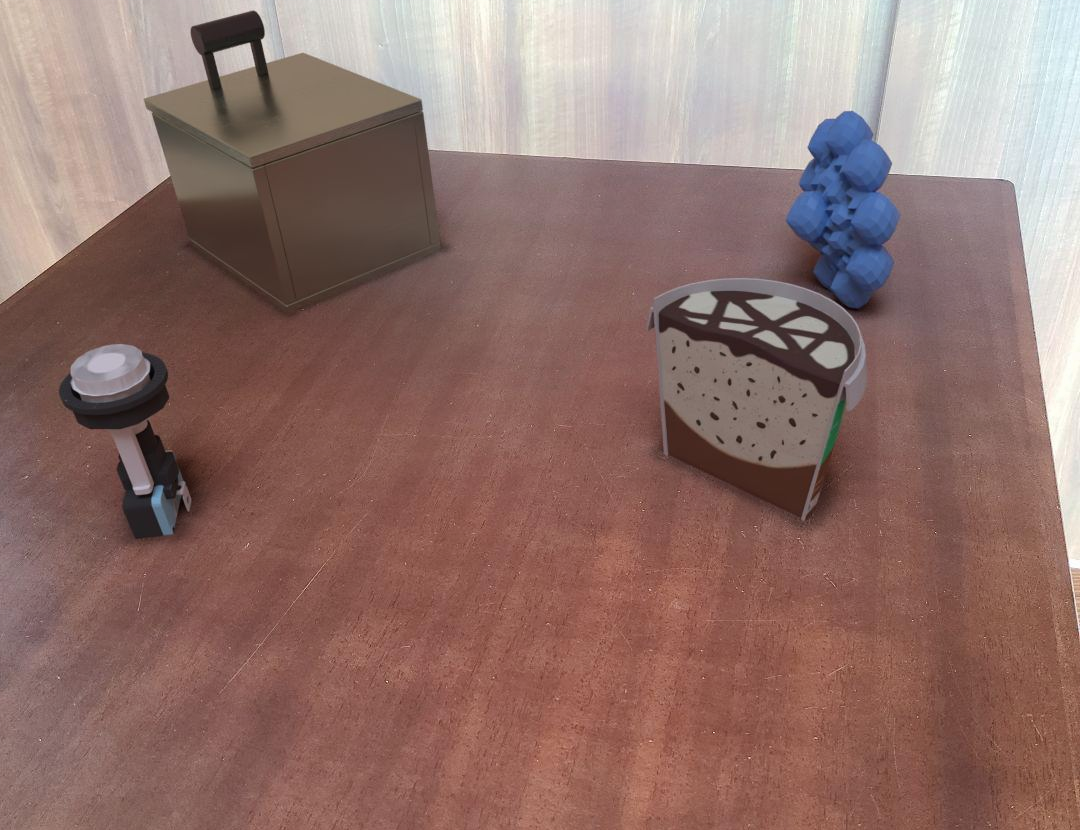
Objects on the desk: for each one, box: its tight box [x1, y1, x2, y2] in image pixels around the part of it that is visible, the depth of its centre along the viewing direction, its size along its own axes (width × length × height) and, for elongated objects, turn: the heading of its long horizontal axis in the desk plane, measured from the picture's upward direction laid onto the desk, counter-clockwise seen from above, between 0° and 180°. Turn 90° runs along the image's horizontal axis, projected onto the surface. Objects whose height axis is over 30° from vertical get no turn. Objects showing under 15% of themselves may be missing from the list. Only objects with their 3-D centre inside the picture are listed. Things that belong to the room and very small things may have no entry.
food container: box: [645, 277, 868, 522], centre depth 56 cm, size 12×6×10 cm, turn 47°
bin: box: [151, 110, 442, 314], centre depth 79 cm, size 16×14×11 cm
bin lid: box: [143, 9, 424, 168], centre depth 74 cm, size 17×14×5 cm
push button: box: [58, 343, 193, 540], centre depth 56 cm, size 7×5×10 cm
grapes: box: [785, 110, 901, 309], centre depth 69 cm, size 12×7×12 cm, turn 12°
